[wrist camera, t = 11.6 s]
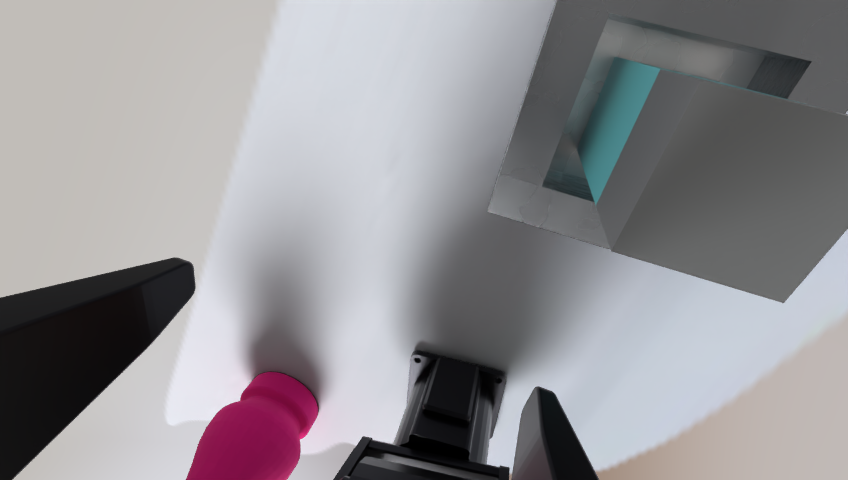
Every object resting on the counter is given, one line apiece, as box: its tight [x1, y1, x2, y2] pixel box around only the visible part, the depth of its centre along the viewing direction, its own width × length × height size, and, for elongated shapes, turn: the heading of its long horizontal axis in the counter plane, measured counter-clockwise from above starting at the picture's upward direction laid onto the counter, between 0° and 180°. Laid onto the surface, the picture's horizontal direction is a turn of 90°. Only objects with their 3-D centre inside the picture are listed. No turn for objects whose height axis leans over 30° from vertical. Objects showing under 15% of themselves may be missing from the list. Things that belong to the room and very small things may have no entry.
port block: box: [487, 0, 848, 250], centre depth 16 cm, size 10×10×4 cm
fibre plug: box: [577, 57, 848, 303], centre depth 13 cm, size 4×4×10 cm
